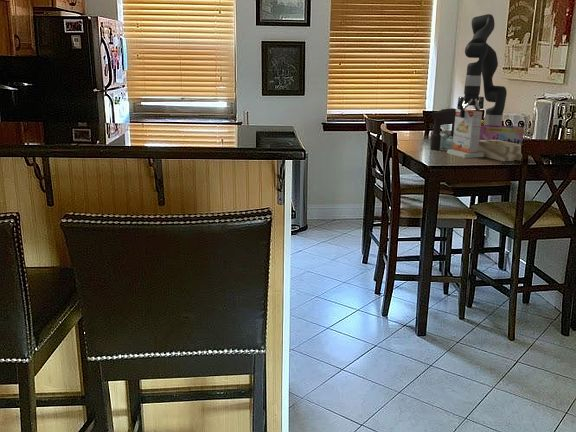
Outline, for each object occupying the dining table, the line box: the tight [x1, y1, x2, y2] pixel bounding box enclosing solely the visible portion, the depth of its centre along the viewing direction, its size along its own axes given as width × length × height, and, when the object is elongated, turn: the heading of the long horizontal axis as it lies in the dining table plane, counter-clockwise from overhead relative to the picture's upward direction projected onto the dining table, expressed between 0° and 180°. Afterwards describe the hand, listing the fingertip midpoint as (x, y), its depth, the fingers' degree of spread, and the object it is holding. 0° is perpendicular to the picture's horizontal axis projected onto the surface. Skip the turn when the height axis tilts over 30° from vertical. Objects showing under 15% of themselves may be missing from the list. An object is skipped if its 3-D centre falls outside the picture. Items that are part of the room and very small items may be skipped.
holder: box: [478, 140, 522, 162], centre depth 289 cm, size 14×22×7 cm, turn 21°
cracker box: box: [452, 108, 483, 153], centre depth 290 cm, size 14×6×21 cm, turn 21°
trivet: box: [447, 149, 484, 159], centre depth 293 cm, size 12×14×2 cm
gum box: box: [479, 124, 525, 144], centre depth 305 cm, size 24×8×14 cm, turn 76°
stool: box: [430, 108, 457, 151], centre depth 313 cm, size 16×21×33 cm
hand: (469, 117), depth 288 cm, fingers open, 8 cm apart
